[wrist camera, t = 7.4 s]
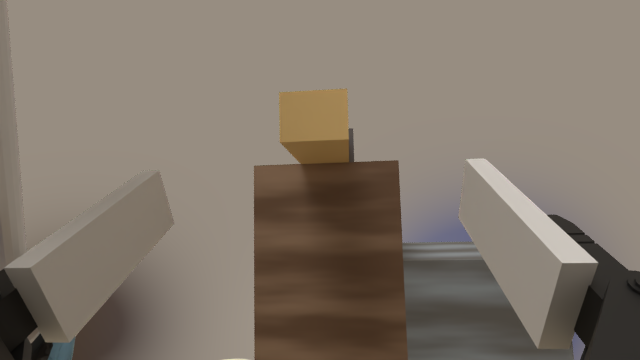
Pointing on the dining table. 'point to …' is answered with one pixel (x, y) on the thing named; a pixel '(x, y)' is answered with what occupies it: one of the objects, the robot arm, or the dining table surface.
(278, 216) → the stand
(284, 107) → the block
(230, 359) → the dining table surface
